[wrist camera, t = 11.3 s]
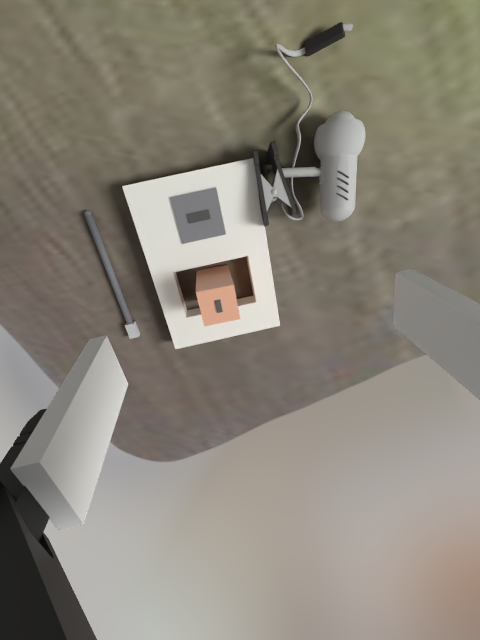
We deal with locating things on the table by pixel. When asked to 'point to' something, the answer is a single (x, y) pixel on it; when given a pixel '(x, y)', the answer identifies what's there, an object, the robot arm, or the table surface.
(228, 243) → the outlet plate
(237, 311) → the block
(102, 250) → the cable
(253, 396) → the table surface
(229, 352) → the table surface
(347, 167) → the clip-on lamp
